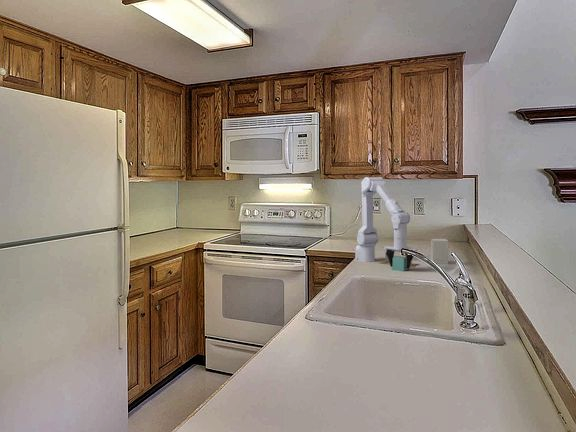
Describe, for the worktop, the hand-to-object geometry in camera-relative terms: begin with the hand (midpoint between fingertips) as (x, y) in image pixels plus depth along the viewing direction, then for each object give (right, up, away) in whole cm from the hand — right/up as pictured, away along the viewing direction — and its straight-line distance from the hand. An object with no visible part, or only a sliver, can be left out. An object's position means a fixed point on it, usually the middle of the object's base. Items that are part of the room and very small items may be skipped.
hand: (400, 267), depth 182 cm
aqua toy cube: (0, -2, 0) cm, 2 cm away
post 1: (-1, 0, +16) cm, 16 cm away
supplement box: (+23, -1, +14) cm, 27 cm away
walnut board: (+3, -1, +13) cm, 13 cm away
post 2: (+7, 0, +10) cm, 12 cm away
